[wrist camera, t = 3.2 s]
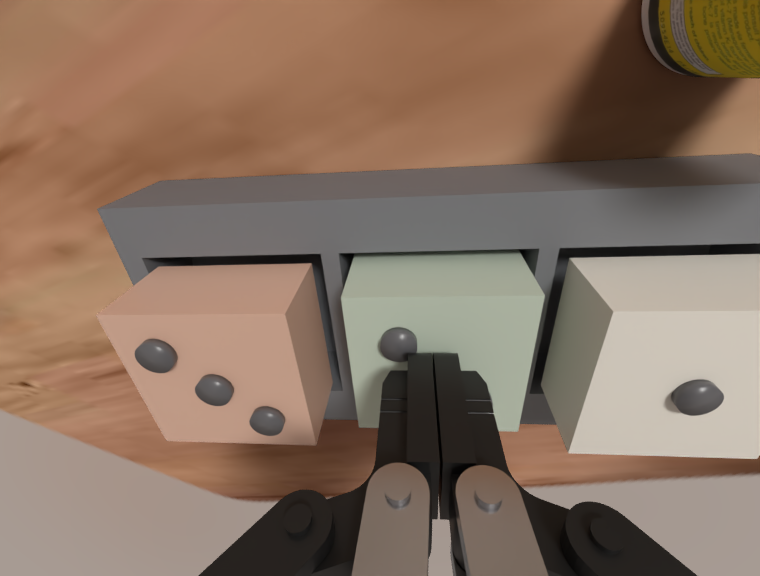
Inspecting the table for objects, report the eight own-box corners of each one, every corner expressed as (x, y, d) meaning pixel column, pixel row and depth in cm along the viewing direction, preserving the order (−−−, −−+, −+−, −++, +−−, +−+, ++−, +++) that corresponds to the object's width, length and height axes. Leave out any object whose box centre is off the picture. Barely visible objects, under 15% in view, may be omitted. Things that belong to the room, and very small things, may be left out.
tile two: (517, 248, 12) (548, 301, 10) (500, 370, 15) (520, 438, 12) (354, 252, 13) (339, 303, 10) (367, 369, 16) (357, 434, 13)
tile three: (311, 263, 12) (281, 320, 10) (332, 382, 15) (314, 453, 12) (158, 266, 13) (87, 321, 10) (206, 380, 16) (161, 447, 13)
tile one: (763, 253, 11) (883, 317, 8) (693, 386, 14) (764, 468, 11) (569, 257, 12) (619, 318, 9) (540, 385, 14) (571, 461, 12)
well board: (751, 153, 13) (855, 179, 10) (657, 367, 18) (706, 428, 15) (160, 180, 15) (97, 209, 12) (228, 364, 20) (195, 416, 17)
